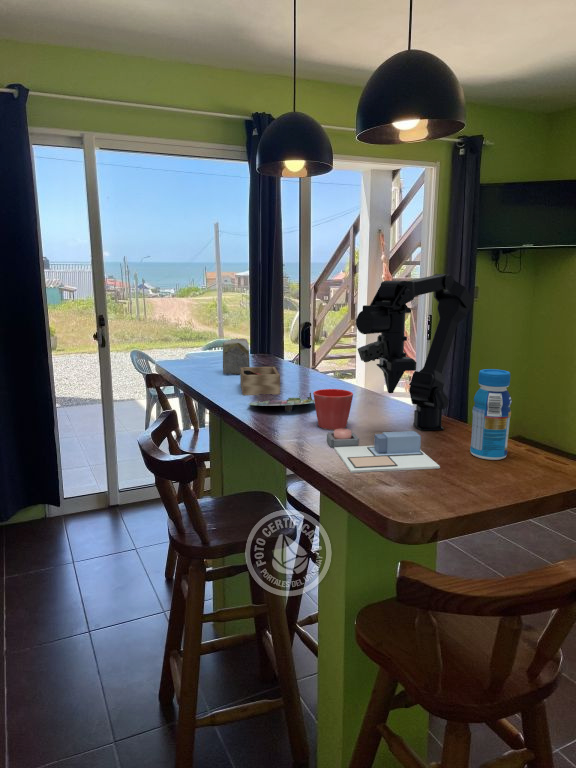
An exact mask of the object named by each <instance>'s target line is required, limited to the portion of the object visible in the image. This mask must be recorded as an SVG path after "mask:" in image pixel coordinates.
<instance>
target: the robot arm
mask: <svg viewBox="0 0 576 768" xmlns="http://www.w3.org/2000/svg"><path fill="white" fill-rule="evenodd" d="M430 293H433V297H434V299H435V300H436V301H437V313H438V317H439V320H438V322H437V323H438V324H437V326H436V328H435V332H434V334H433V338H432V340H431V344H430V346H429V351H428V353H427V356H426V358H425V359H426V360H425V361H424V365H423V367H422V368H421V369H420V370H419V371H417V362H416V360H415V359H413V358H412V357H409V356H407V352H405V351H404V350H405V342H407V341H408V336H406V335H405V327H406V314H411V313H412V310H411V309H410V307H408V306H407V304H409V303H410V302H412V301H413V300H414V299H415V298H416V297H418V296H422V295H426V294H430ZM472 304H473V296H472V295H471V293H470V292H469V290H468V289H467V288H466V287H465V286H464V285H463V284H461V283H459V282H458V281H456V280H455V278H454V277H453V276H452V275H450V274H448V273H435V274H434V275H430V276H425V277H421V278H416V279H410V280H383V281H382V282H380V285H379V288H378V290H377V291H376V293H375V295H374V297H373V299H372V301H371V302H370V303H369V305H367V304H366V305H365V304H364V305H362V310H361V311H360V312H359V313H358V314H357V317H356V319H355V325H356V329H357V330H358V332H359V333H360V334H362V335H370V334H371V335H372V334H373V335H375V334H378V336H377V341H374V342H371V343H368V344H365V345H363V346H361V347H358V348H357V352H358V355H359V358H360V361H362V362H363V363H368V362H371V361H372V362H376V360H379V363H376V366H377V367H378V368H379V369H380V370H381V371H382V374H383V377H384V381H385V385H386V390H387V393H388V394H394V391H395V389H396V388H397V386H398V385H399V382H400V380H401V378H402V377H403V376H404V373H405V372H407V371H408V372H409V371H410V372H411V371H414V372H413V373H412V377H411V380H410V382H409V384H408V385H409V389H408V391H409V392H408V393H409V396H410V400H411V404H412V405H416V409H415V410H414V414H413V426H414V427H416V428H417V429H419V430H420V431H443V430H445V429H444V427H443V426H442V421H443V420H442V418H443V410H445V409H446V408H448V406H449V401H450V399H449V397H447V395H446V393H445V392H444V391H443V390H444V387H445V382H444V378H443V370H444V367H445V365H446V364H445V363H446V360H447V358H448V354H449V352H450V348H451V345H452V343H453V340H454V336H455V333H456V329H457V327H458V326H459V325H458V324H459V323H460V322H461V321H463V319H465V318H466V317H467V316H468V313H469V311H470V309H471V307H472ZM379 333H380V334H379Z"/></svg>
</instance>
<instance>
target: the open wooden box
mask: <svg viewBox="0 0 576 768" xmlns="http://www.w3.org/2000/svg"><path fill="white" fill-rule="evenodd" d="M244 370H249V371H251V372H253V373H257V372H259V373H260V374H262V375H246V374H244ZM239 375H240V376H239V377H240V378H239V379H240V381H239V382H240V385H241V386H240V389H241V393H242V396H260V395H259V394H264V395H263V396H266V395H265V394H272V395H280V394H281V374H280V373H279V371H278V370H277V367H275V366H252V367H251V366H250V367H240V374H239Z"/></svg>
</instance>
